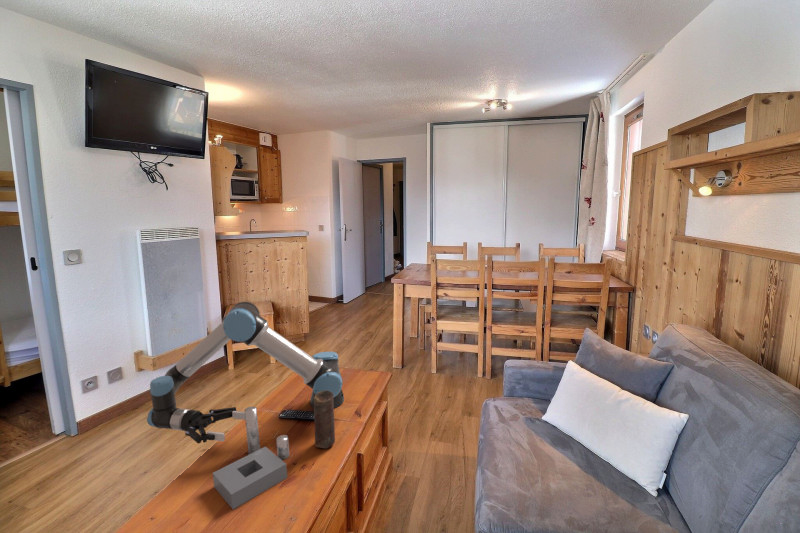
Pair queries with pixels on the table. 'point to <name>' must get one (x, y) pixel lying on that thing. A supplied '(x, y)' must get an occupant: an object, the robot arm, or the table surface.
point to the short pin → (282, 447)
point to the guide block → (249, 476)
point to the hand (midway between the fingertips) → (236, 426)
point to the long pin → (252, 429)
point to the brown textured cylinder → (324, 419)
